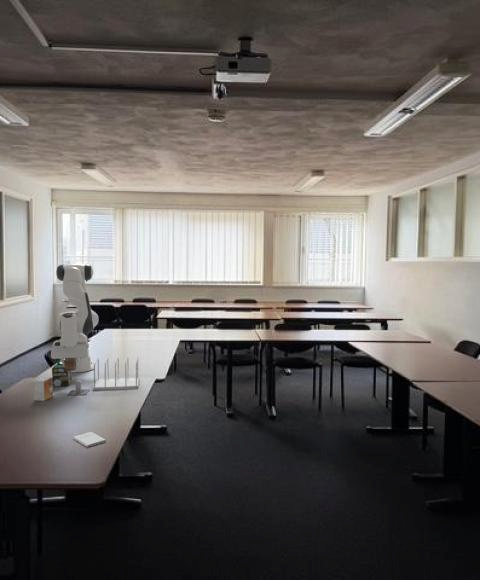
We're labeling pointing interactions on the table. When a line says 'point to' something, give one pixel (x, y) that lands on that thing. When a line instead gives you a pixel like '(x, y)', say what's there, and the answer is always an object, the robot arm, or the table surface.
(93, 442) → the external hard drive
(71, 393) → the grey square peg stand
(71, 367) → the cardboard cube
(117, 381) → the file sorter
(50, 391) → the small box
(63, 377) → the chalk box
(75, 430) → the table surface
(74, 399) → the table surface
